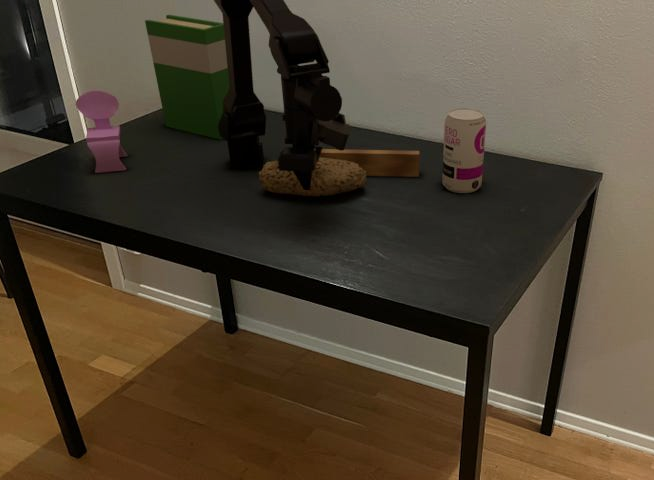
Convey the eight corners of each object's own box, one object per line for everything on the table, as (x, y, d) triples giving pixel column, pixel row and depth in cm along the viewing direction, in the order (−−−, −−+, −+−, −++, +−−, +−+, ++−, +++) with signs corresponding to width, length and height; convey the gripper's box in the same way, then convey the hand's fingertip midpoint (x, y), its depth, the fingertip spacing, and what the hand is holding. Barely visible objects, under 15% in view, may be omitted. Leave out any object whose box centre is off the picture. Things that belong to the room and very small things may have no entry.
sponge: (259, 204, 142) (348, 199, 135) (251, 164, 139) (341, 157, 132) (292, 191, 153) (375, 186, 146) (285, 154, 150) (370, 147, 143)
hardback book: (166, 126, 174) (144, 20, 160) (187, 117, 179) (168, 14, 165) (221, 139, 168) (204, 30, 153) (241, 130, 173) (227, 23, 158)
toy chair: (90, 174, 150) (70, 102, 141) (92, 159, 157) (73, 89, 148) (131, 170, 152) (114, 99, 143) (132, 155, 159) (116, 86, 150)
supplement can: (486, 182, 149) (492, 110, 140) (472, 197, 143) (477, 123, 134) (451, 175, 152) (454, 104, 143) (436, 189, 146) (438, 116, 137)
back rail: (297, 174, 151) (295, 151, 148) (298, 171, 153) (296, 148, 150) (418, 177, 151) (419, 154, 148) (419, 173, 153) (419, 150, 150)
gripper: (340, 123, 116) (345, 211, 126) (350, 90, 131) (354, 171, 141) (273, 122, 116) (282, 210, 126) (290, 89, 131) (298, 170, 141)
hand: (307, 189), depth 133 cm, fingers closed
